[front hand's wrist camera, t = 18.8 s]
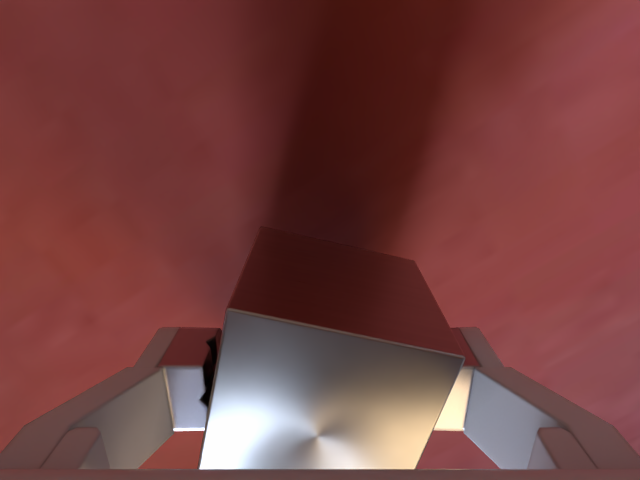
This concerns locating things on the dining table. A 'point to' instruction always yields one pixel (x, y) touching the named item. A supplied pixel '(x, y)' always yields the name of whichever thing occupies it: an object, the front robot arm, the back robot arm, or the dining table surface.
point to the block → (327, 361)
